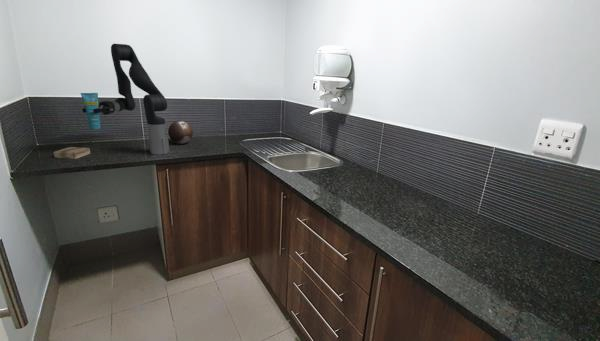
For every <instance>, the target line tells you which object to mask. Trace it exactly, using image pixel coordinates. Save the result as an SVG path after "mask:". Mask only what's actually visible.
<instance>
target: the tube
mask: <svg viewBox="0 0 600 341" xmlns="http://www.w3.org/2000/svg"><path fill="white" fill-rule="evenodd" d="M80 95H81V99H82V102H83V106H84V107H85V110H86V117H87V121H88V126H89V127H88V128H89V130H101V119H100V118H101V117H100V113H94V111H93V109H97V108H99V107H98V104H99V93H98V92H80Z"/></svg>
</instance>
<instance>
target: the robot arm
mask: <svg viewBox="0 0 600 341" xmlns="http://www.w3.org/2000/svg"><path fill="white" fill-rule="evenodd" d="M110 54H111V59H112V62H113V68H114V71H115V75H116V81H117V91H118V92H117V93H118V94H119V95H120V96H122V97H118V98H116V99H114V100H113V99H112V100H111V99H110V100H103V101H100V102H98V107H99V108H97V109H93V111H94V113H99V114H100V113H101V114H102V115H105V116H106V115H112V114H115V113H118V112H122V111H123V110H126V111H131V112H132V111H134V110H135V109H136V102H135V98H134V96H133V92H132V84H131V81H132V83H133V84H134V85H135V87H137V88H138V89H140V90H142V91H143V92H145V93H147V94H145V95H144V96H143V99H142V102H143V108H144V114H145V119H146V126H147V133H148V142H149V150H150V151H149V152H150V154H151V155H156V156H157V155H166V154H168V153H170V145H169V135H167V129H166V128H167V126H166V119H165V118H164V117H162V116H157V114H156V112H164V111H166V110H167V108H168V102H167V99H166V97H165V96H164V95H163V93H162V92H161V91H160V90H159V88H158V87H157V86H156V84H154V82H153V80H152V79H151V77H150V75H149V74H148V72H147V71H146V70H145V69H144V67H143V65H142V63H141V61H140V60H139V58H138V56H137V54H136V53H135V50H134V49H133V47H132V46H131V45H129V44H124V43H112V44H111V46H110ZM121 62H129V63H130V67H129V69H128V75H127V74H126V72H125V71H124V70H123V68H122V65H121V64H122V63H121ZM130 79H131V80H130ZM123 97H124V98H123ZM81 110H82V113H83V114H84V113H86V110H85V106H84V107H83V108H82V109H81Z"/></svg>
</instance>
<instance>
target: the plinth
mask: <svg viewBox="0 0 600 341" xmlns="http://www.w3.org/2000/svg"><path fill="white" fill-rule="evenodd" d="M89 154H91V149H90V147H76V146H75V147H74V146H68V147H65V148H61V149H60V150H55V151H53V155H54V156H53V157H54V158H55V159H56V158H57V159H71V160H73V159H75V160H76V159H79V158H81V157H84V156H87V155H89Z"/></svg>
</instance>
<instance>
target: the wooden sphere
mask: <svg viewBox="0 0 600 341" xmlns="http://www.w3.org/2000/svg"><path fill="white" fill-rule="evenodd" d="M167 133H168V138H170V140H171V141H172V142H174V143H176V144H180V145H182V144H186V143H189V141H191V139H192V137H193V135H194V133H193V128H192V126H191V125H190V124H189V123H188V122H186V121H183V120H176V121H174V122H172V123H171V124H170V125H169V127H168V129H167Z"/></svg>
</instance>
